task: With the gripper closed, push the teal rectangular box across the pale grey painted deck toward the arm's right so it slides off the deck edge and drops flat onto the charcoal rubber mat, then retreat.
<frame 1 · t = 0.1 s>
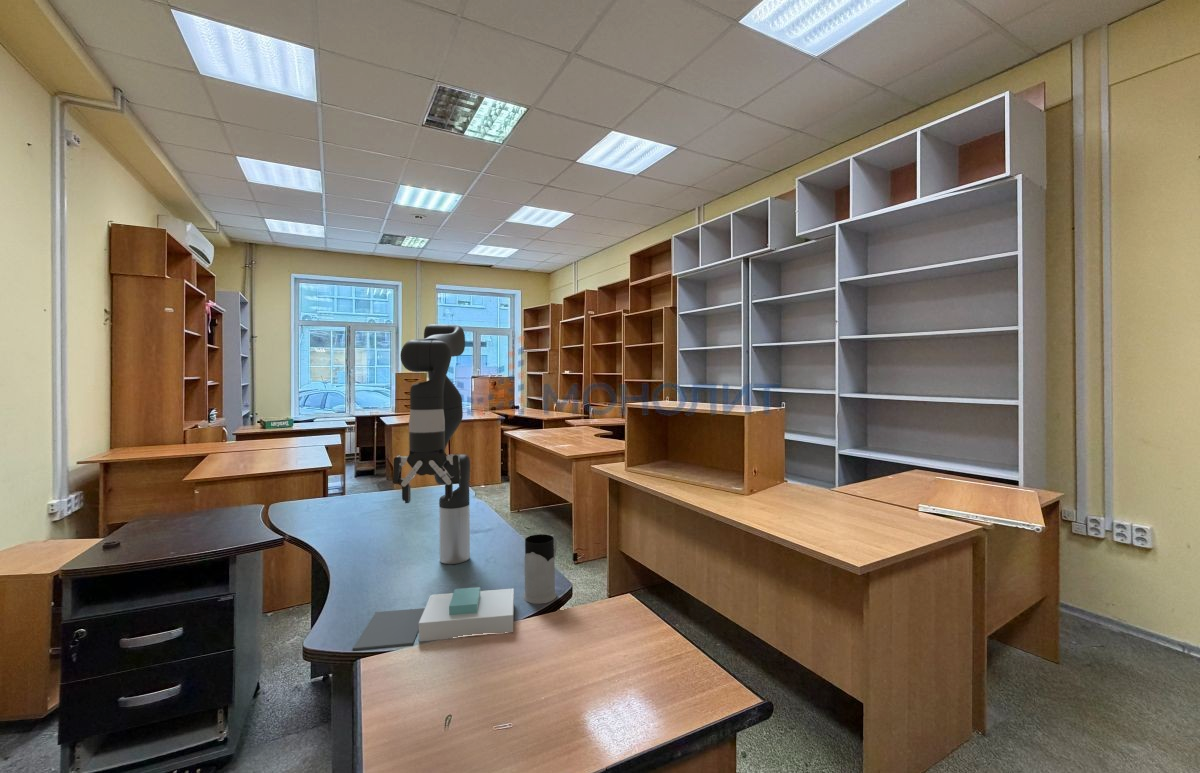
hand: (427, 501, 106), 29 cm above the table, fingers open, 8 cm apart
deck: (470, 621, 110), on the table
teal rectangular box: (465, 604, 110), point 4 cm above the table, touching deck
glass holder: (544, 592, 126), on the table
mat: (393, 628, 108), on the table
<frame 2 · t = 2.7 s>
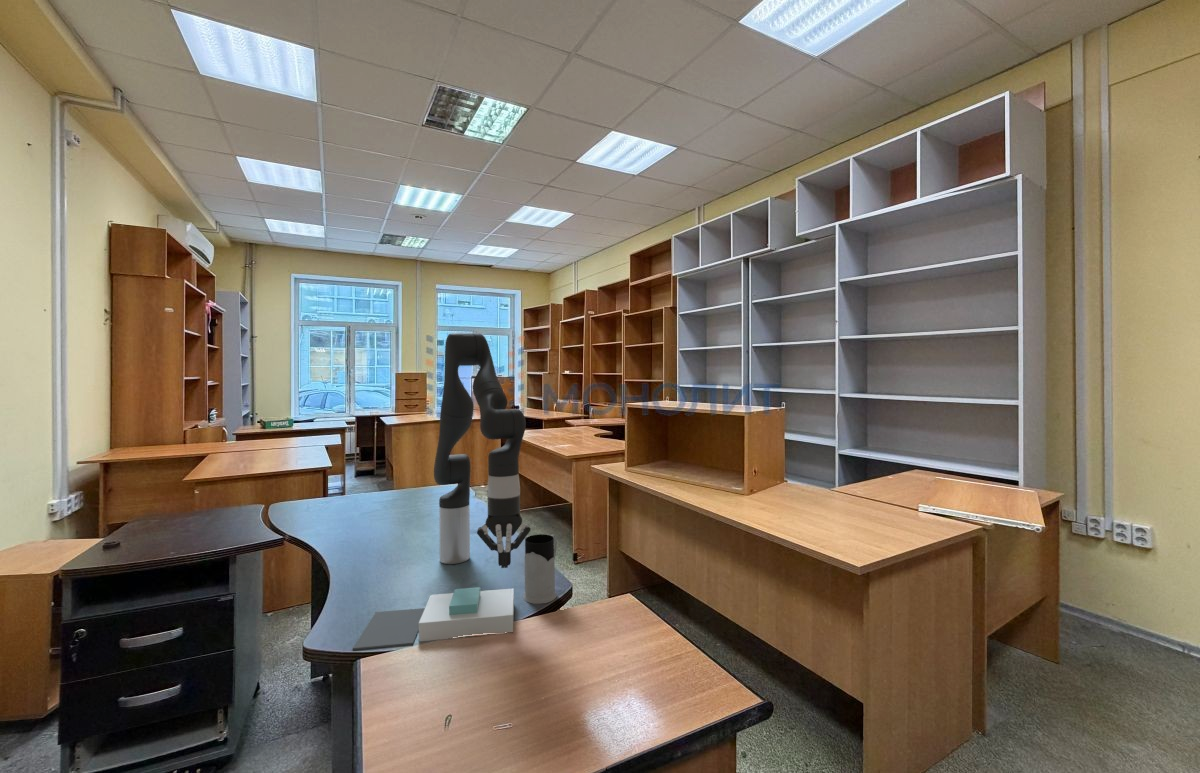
hand: (504, 566, 112), 12 cm above the table, fingers closed
nothing on the table moved.
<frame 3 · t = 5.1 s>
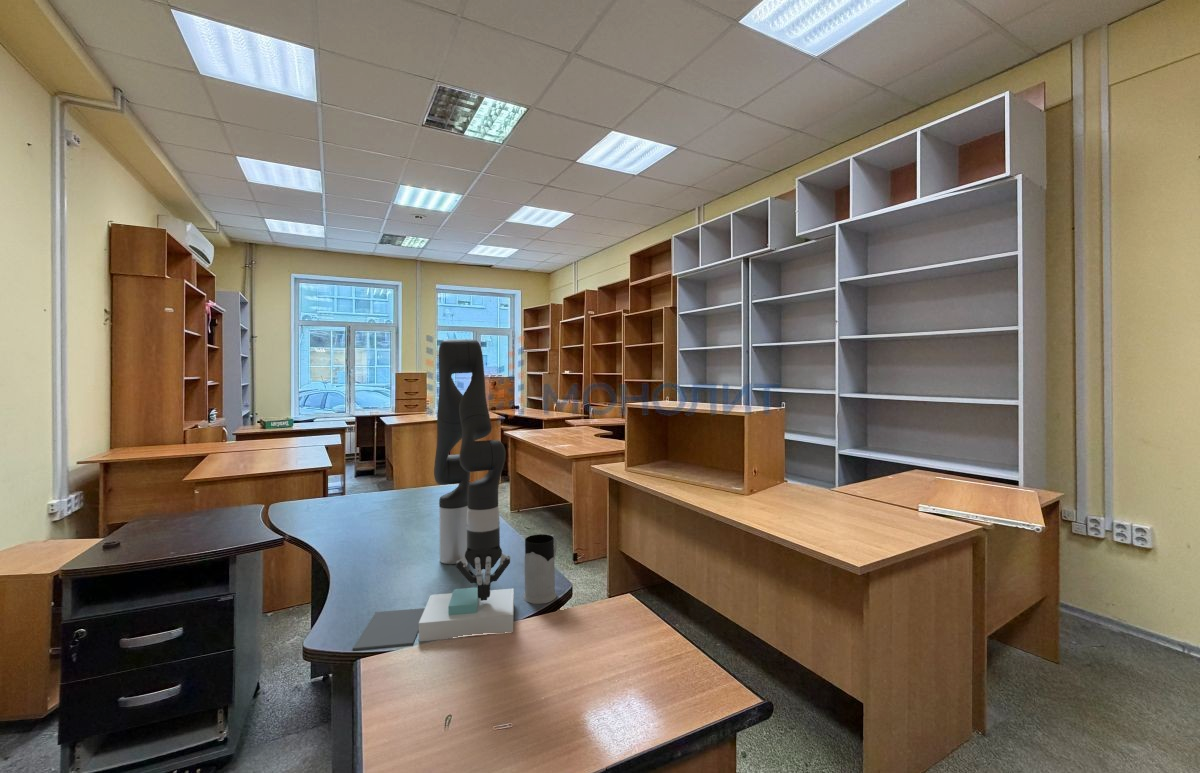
hand: (483, 598, 111), 5 cm above the table, fingers closed
teal rectangular box: (464, 604, 110), point 4 cm above the table, touching deck, gripper
everything else where it was.
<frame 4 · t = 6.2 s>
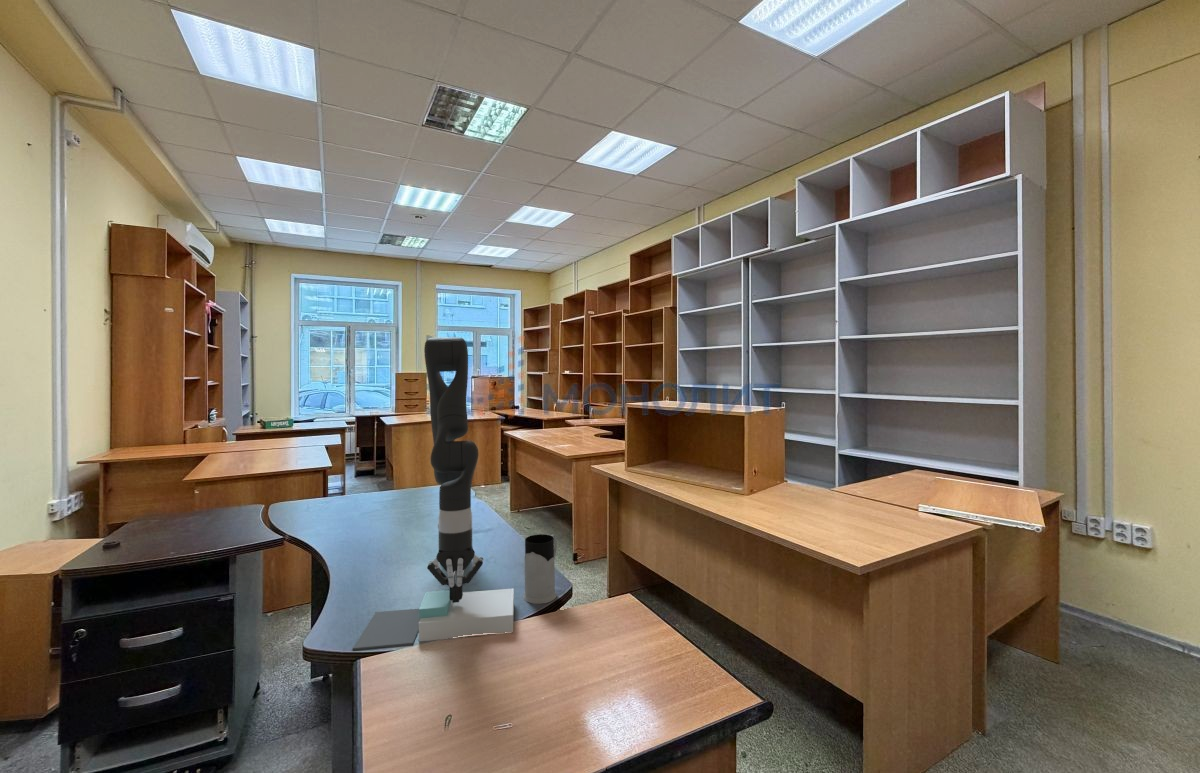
hand: (456, 601, 110), 5 cm above the table, fingers closed
teal rectangular box: (436, 607, 109), point 4 cm above the table, touching deck
everything else where it was.
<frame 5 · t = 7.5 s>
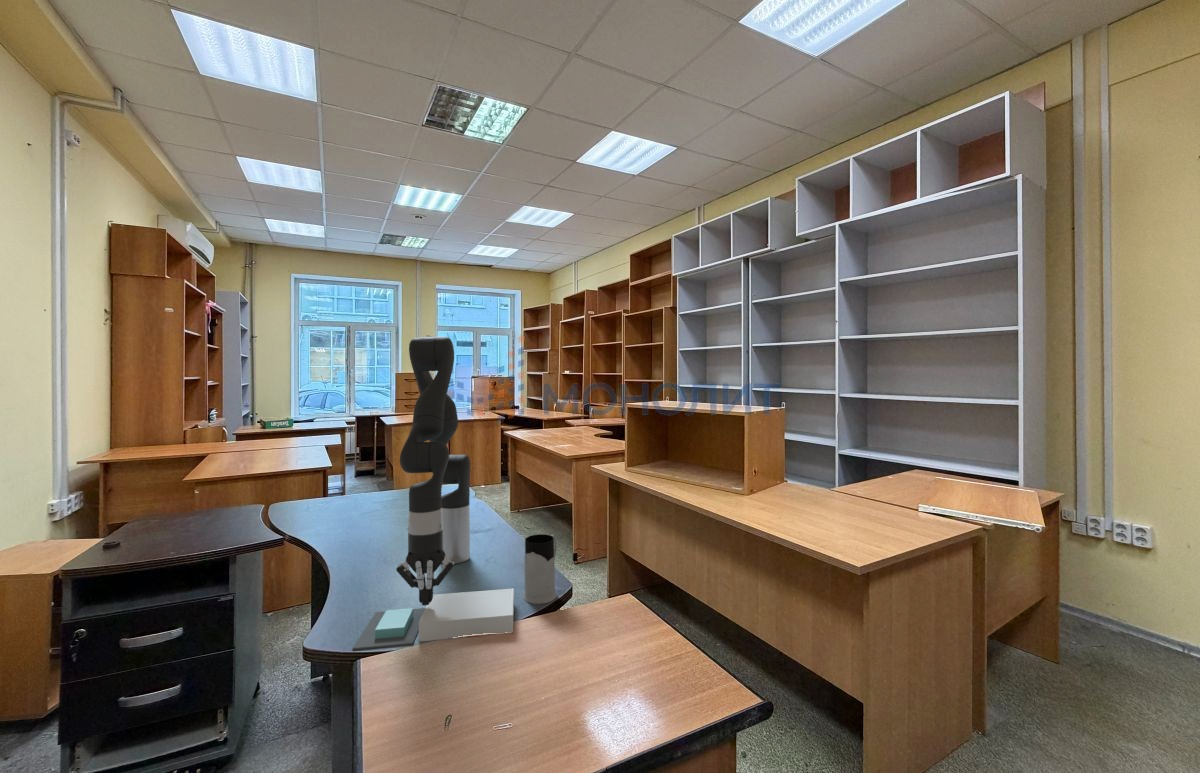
hand: (426, 603, 109), 5 cm above the table, fingers closed
teal rectangular box: (395, 618, 107), point 2 cm above the table, tilted 180°, touching mat
everything else where it was.
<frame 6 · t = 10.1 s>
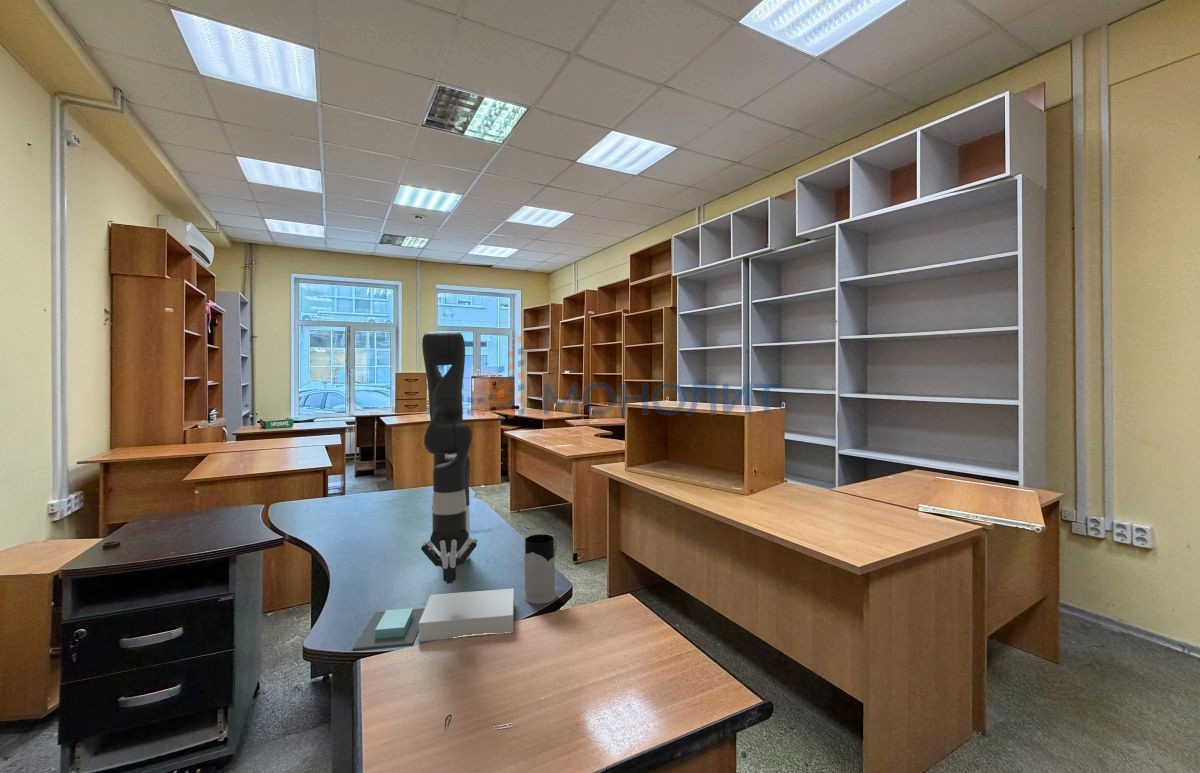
hand: (450, 582, 111), 9 cm above the table, fingers closed
nothing on the table moved.
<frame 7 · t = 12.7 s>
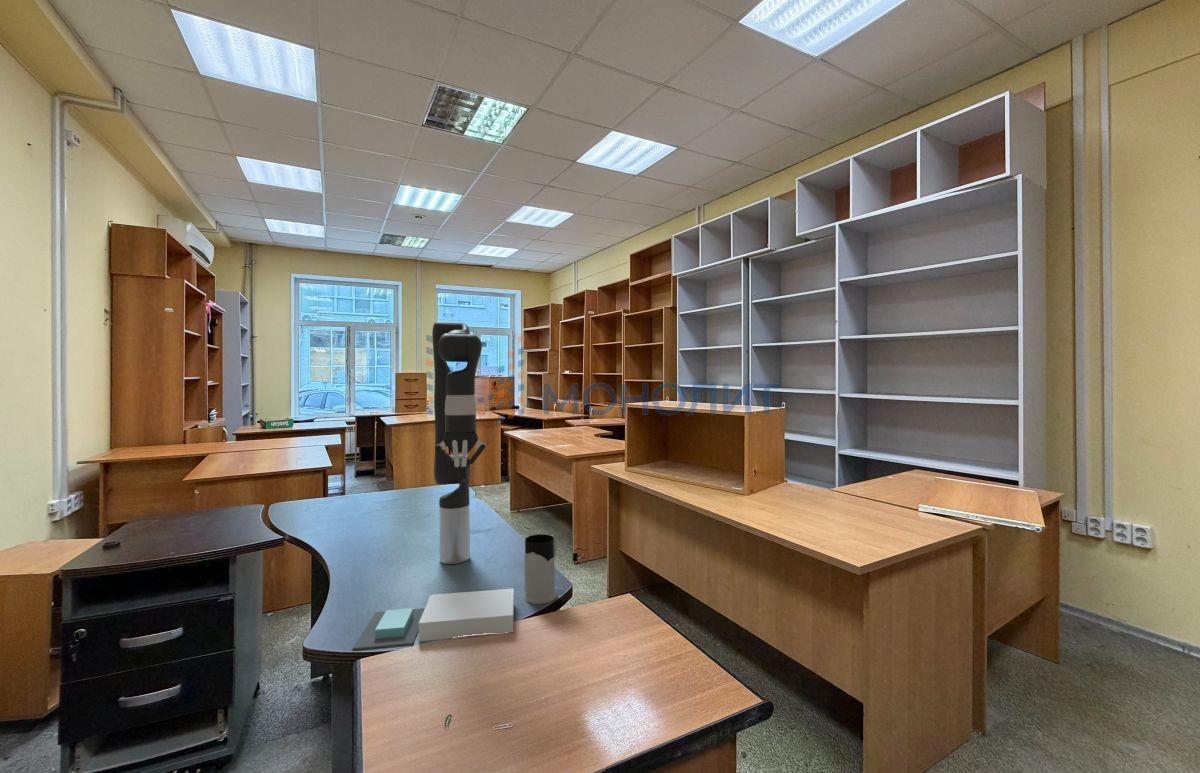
hand: (461, 481, 120), 31 cm above the table, fingers closed
nothing on the table moved.
at the end: teal rectangular box point 2.4 cm above the table; teal rectangular box inside the target area on the mat (0.7 cm from its centre), point 2.4 cm above the mat's base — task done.
